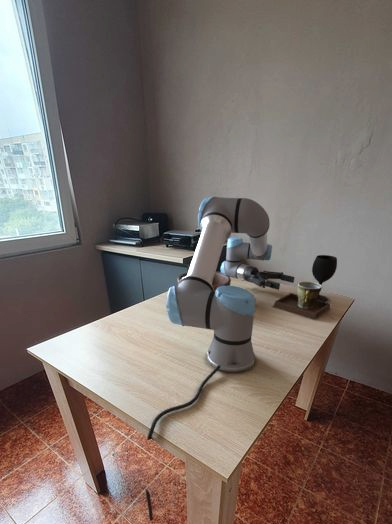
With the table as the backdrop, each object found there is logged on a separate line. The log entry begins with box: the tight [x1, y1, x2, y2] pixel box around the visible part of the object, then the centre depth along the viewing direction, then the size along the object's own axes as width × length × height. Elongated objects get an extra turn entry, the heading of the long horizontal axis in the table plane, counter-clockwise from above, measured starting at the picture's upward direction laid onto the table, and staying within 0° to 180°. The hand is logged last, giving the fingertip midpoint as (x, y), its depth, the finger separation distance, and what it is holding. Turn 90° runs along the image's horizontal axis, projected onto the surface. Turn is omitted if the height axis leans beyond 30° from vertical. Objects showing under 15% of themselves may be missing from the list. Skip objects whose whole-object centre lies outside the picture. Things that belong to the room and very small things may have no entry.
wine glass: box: [311, 254, 338, 303], centre depth 137 cm, size 10×10×20 cm
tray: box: [273, 292, 331, 321], centre depth 131 cm, size 16×20×3 cm
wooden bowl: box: [176, 271, 232, 291], centre depth 137 cm, size 25×25×10 cm
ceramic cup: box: [297, 281, 323, 309], centre depth 128 cm, size 13×10×10 cm
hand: (286, 283), depth 132 cm, fingers open, 13 cm apart
